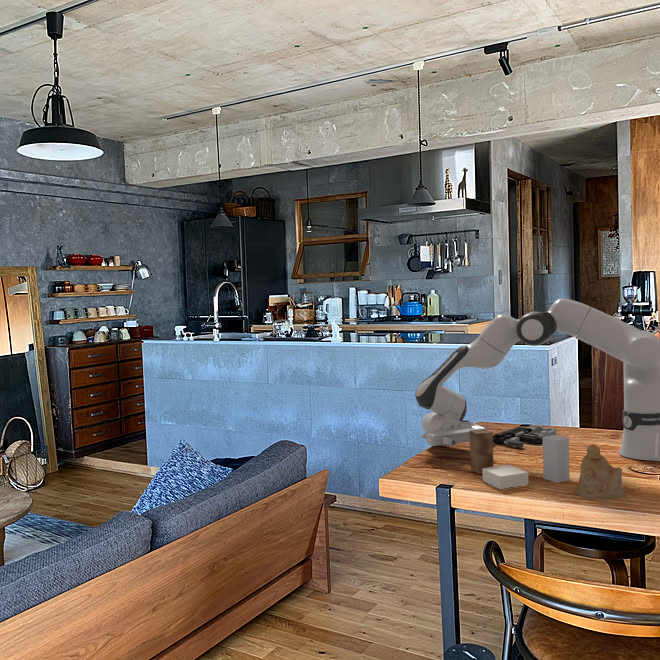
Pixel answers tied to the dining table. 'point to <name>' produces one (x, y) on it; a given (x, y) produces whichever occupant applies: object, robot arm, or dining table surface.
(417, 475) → the dining table surface
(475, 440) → the walnut block
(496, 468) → the cream base
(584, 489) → the statue
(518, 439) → the toy gun
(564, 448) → the grey block
